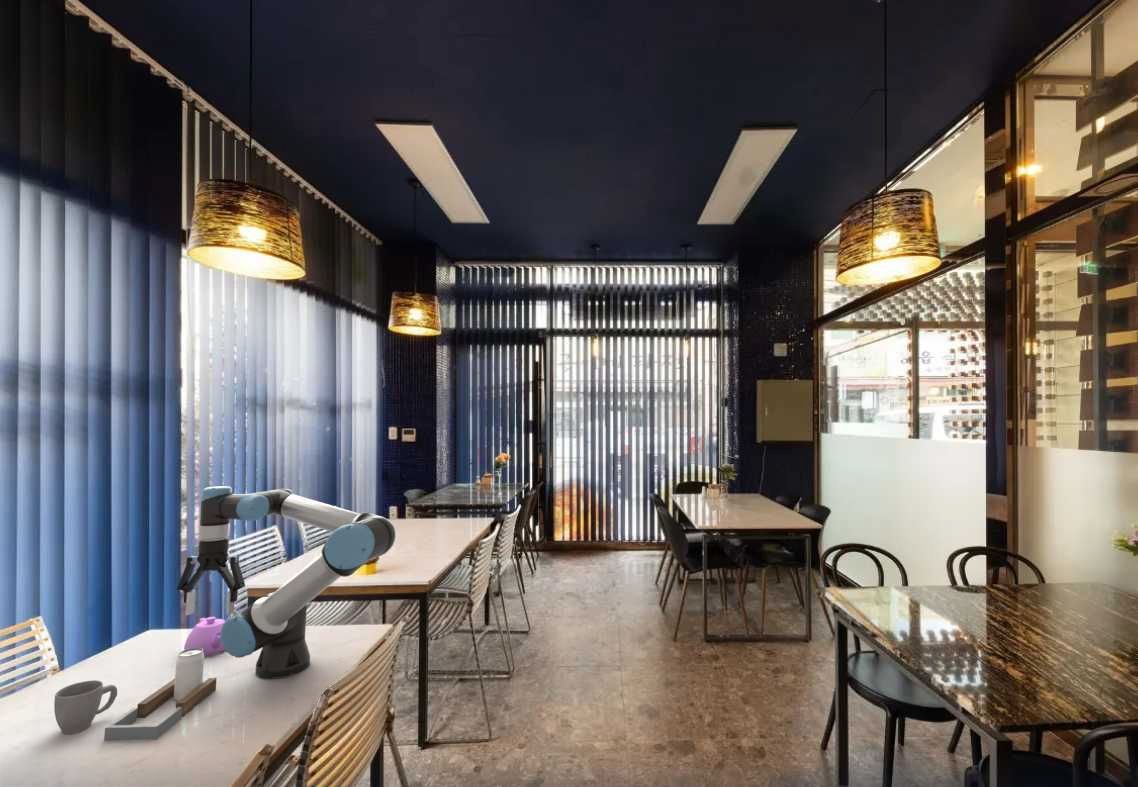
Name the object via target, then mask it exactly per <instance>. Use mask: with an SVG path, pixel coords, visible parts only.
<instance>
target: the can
mask: <svg viewBox="0 0 1138 787" xmlns="http://www.w3.org/2000/svg"><path fill="white" fill-rule="evenodd" d="M202 651H203V649H201V648H192V649H187V650H184V649H183V650H182V651H181V652H179V653H178V656H177V658H176V660H175V668H174V670H175V671H174V673H175V674H174V679H175V684H174V697H173V699H174V701H176V702H178V701H180V700H181V699H182V698H183V697H185V696H186V695H187V694H189V693H190V692H191V691H193V690H194V689H195V688H197V687H198V686H199V685H201V684H202V683H203V682H204V665H205V657H204V653H203V652H202Z"/></svg>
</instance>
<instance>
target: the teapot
mask: <svg viewBox="0 0 1138 787" xmlns="http://www.w3.org/2000/svg"><path fill="white" fill-rule="evenodd" d="M225 621H226V620H225V619H222V618H217V617H216V616H209V617H201V618H200V619H199V621H198V623H197V624H195V626H194V627H193V628H192V630H191V631H190V633H189V634H188V636H187V638H186V640H185V643H184V646H183V648H184V649H183V651H184V650H187V649H192V648H201V649H203V651H202V652H203V653H204V658H205V657H210V656H213V655H218V654H220V653H222V652H226V650H225V649H224V647H223V645H222V642H221V629H222V626H223V624H224V622H225Z"/></svg>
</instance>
